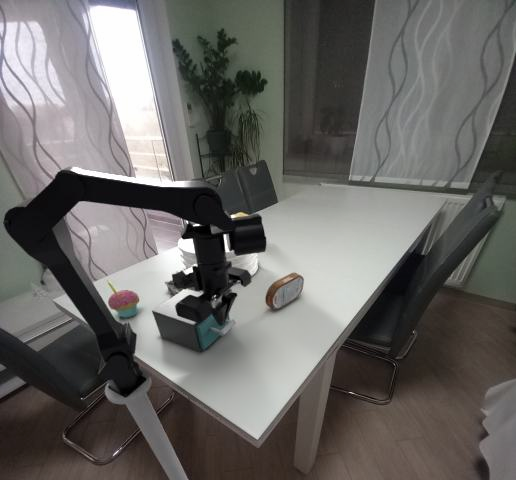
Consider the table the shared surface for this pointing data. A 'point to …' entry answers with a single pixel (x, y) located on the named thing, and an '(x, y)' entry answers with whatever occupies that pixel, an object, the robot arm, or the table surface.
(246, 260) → the plate stack
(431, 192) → the table surface
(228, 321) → the drawer
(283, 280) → the tin
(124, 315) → the cupcake
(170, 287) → the egg carton
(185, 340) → the cabinet
